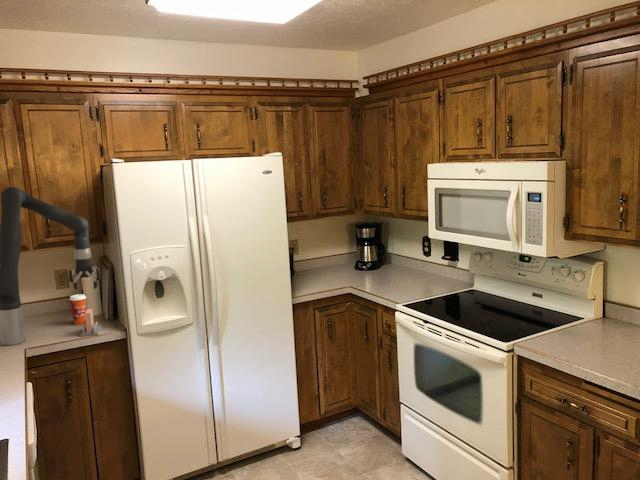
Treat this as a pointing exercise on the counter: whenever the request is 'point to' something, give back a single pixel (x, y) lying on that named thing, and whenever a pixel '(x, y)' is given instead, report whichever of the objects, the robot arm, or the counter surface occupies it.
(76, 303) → the coffee cup
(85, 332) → the blue grey crystal cluster
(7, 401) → the counter surface
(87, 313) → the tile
